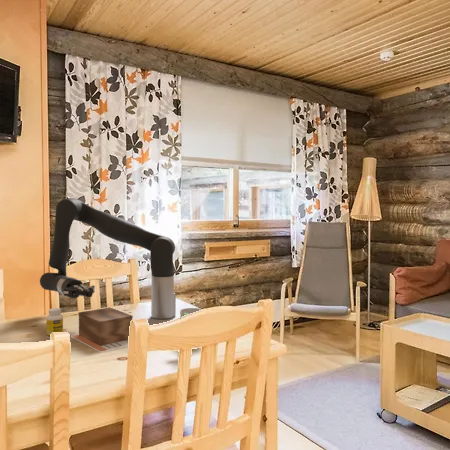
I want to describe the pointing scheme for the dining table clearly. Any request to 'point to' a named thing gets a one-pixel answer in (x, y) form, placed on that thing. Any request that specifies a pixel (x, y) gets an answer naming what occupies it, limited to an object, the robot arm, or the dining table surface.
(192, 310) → the cup
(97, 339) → the walnut box
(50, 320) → the supplement bottle
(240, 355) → the dining table surface
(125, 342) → the letter
